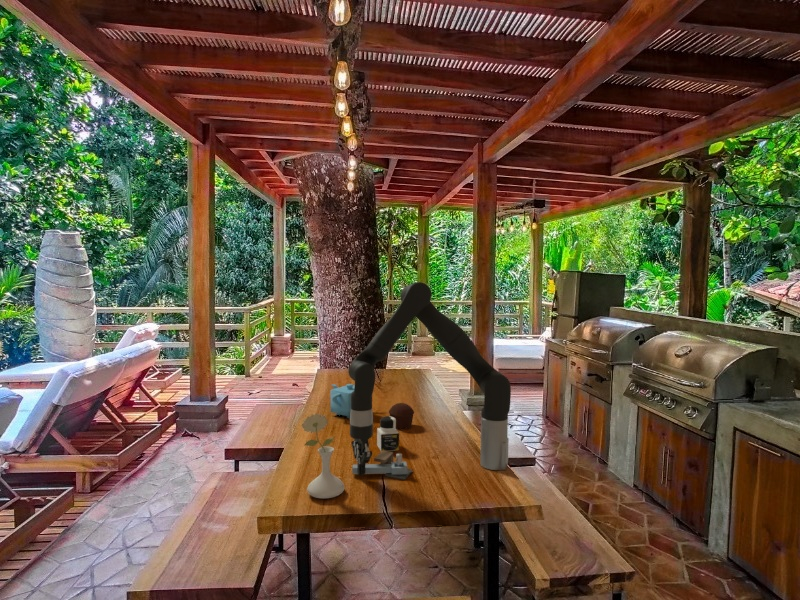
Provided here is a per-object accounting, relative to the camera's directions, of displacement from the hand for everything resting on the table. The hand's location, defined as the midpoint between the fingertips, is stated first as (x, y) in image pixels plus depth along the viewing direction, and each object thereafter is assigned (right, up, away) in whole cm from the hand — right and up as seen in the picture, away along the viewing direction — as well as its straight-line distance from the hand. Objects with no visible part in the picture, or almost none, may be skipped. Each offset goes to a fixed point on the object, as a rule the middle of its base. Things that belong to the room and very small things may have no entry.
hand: (361, 473), depth 152 cm
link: (+6, 0, +3) cm, 7 cm away
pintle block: (+12, -2, +4) cm, 13 cm away
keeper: (+7, -1, +7) cm, 10 cm away
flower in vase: (-11, -2, -10) cm, 15 cm away
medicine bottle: (+8, -1, +27) cm, 29 cm away
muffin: (+13, +1, +53) cm, 55 cm away
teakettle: (-11, +2, +71) cm, 72 cm away
